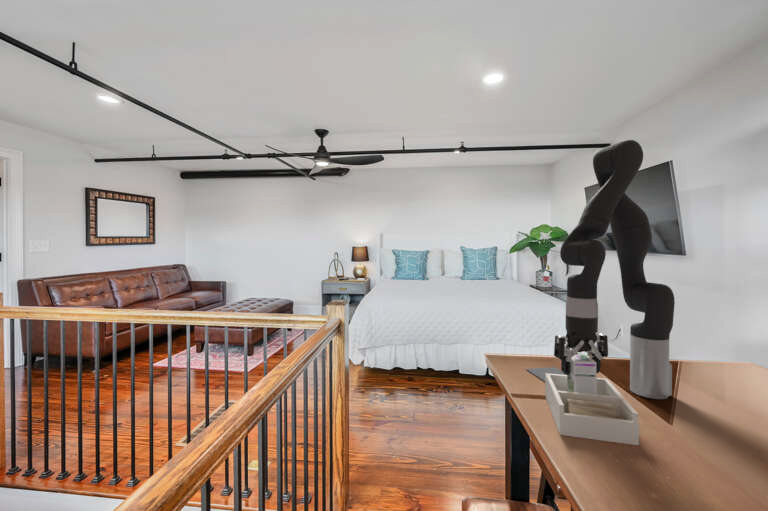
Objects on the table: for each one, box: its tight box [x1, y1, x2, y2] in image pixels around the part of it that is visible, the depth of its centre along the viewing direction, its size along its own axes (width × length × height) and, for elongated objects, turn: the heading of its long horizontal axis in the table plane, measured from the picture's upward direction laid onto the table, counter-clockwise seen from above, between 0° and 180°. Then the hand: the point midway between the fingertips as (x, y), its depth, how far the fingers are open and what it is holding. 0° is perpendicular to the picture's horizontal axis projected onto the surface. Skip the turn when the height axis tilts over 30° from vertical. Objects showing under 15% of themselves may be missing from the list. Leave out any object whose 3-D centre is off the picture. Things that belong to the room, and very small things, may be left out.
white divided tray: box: [544, 373, 640, 446], centre depth 88 cm, size 21×16×7 cm
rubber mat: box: [525, 366, 566, 383], centre depth 117 cm, size 11×11×1 cm
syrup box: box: [567, 353, 598, 394], centre depth 92 cm, size 6×6×14 cm
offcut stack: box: [567, 399, 623, 420], centre depth 82 cm, size 5×12×6 cm, turn 73°
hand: (580, 373), depth 92 cm, fingers open, 8 cm apart
